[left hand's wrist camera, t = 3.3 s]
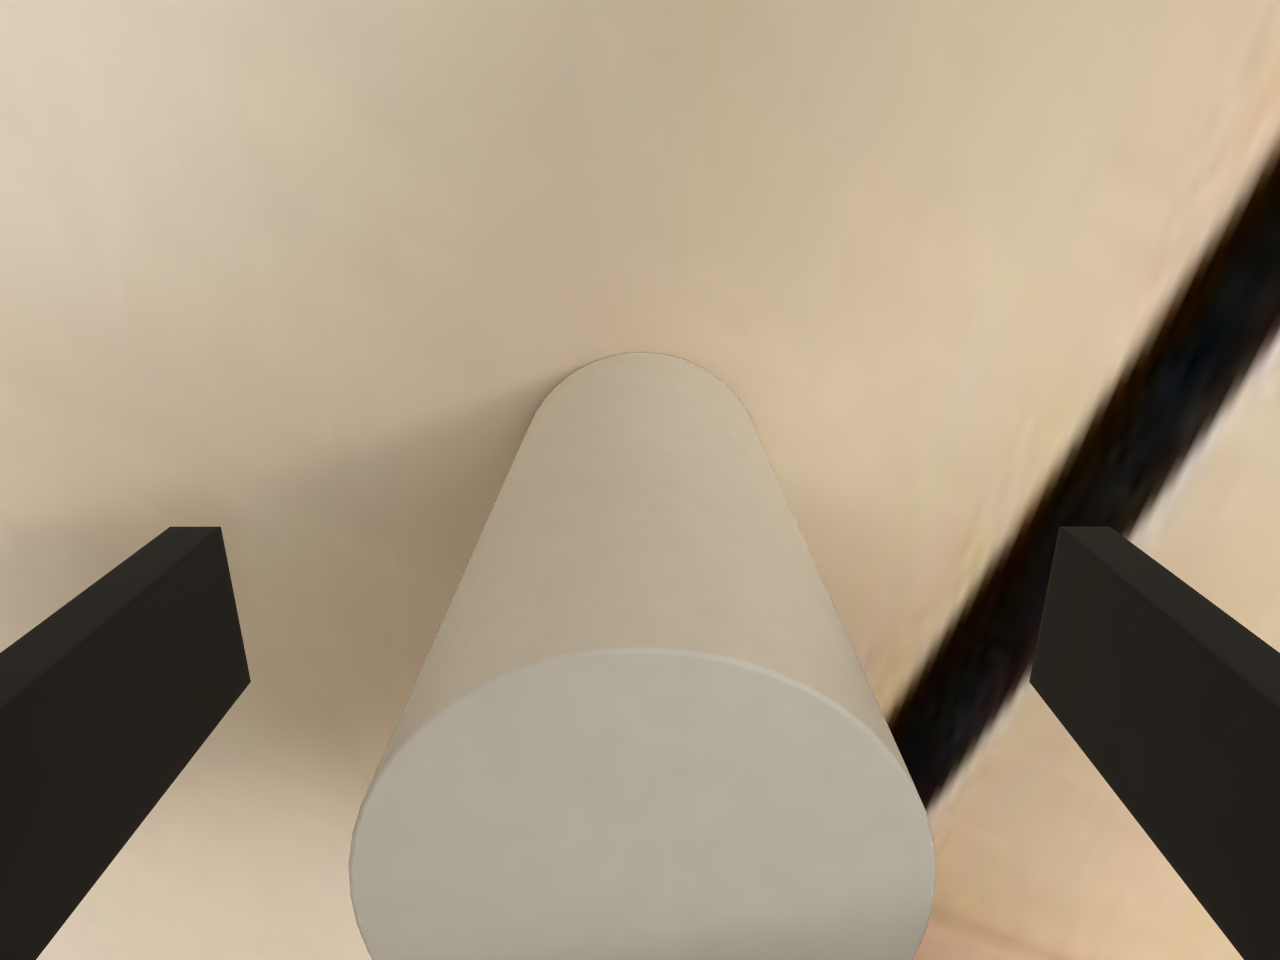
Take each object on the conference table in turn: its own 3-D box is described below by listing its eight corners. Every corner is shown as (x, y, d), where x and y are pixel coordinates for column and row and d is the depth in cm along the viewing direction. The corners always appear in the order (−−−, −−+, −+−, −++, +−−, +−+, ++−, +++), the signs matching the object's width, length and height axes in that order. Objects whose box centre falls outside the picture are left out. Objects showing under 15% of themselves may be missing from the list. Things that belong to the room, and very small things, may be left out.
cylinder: (768, 565, 19) (934, 1078, 8) (542, 588, 19) (415, 1117, 8) (753, 338, 17) (942, 617, 6) (503, 366, 17) (277, 683, 7)
